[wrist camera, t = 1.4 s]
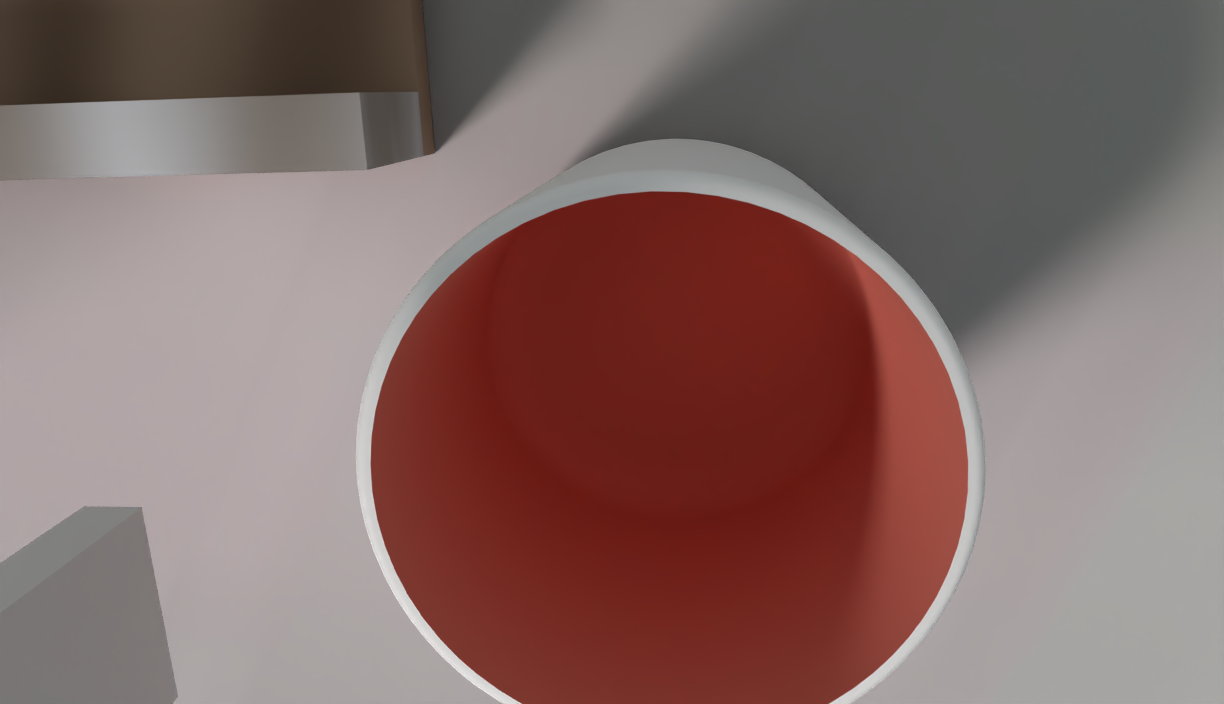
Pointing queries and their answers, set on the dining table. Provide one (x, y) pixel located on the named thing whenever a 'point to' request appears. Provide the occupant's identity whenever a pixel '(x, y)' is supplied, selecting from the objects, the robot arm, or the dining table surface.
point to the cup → (670, 442)
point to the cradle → (210, 87)
